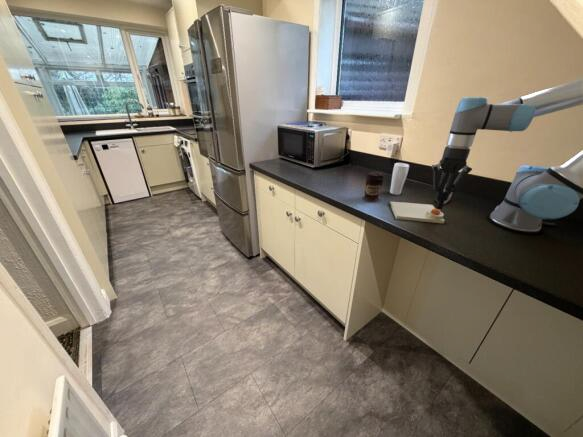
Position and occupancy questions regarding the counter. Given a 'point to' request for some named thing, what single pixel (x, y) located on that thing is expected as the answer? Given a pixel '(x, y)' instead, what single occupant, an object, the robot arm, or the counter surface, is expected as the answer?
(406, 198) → the counter surface
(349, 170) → the counter surface
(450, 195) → the grey tapered block
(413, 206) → the scale
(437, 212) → the button
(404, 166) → the drinking glass
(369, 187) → the coffee cup
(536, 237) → the counter surface
